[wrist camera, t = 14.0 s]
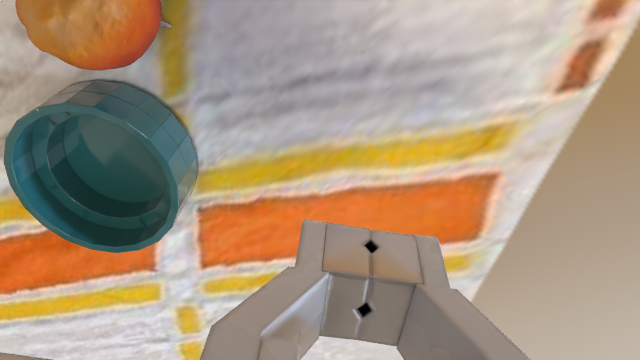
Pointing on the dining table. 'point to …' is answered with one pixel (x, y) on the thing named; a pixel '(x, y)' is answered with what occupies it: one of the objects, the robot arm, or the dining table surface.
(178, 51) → the dining table surface
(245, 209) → the dining table surface
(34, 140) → the bowl
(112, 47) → the fruit
